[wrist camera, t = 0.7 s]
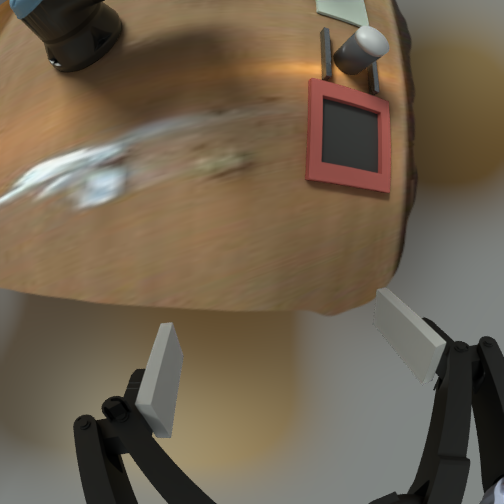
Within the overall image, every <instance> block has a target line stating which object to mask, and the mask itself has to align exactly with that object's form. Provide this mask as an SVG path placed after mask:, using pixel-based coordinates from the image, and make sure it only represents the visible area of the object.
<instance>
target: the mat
mask: <svg viewBox="0 0 504 504" xmlns="http://www.w3.org/2000/svg"><path fill="white" fill-rule="evenodd" d="M316 10H317V13H319V14H322V15H326V16H329V17H332V18H335V19H338V20H341V21H344V22H347V23H350V24H353V25H355V26H358V27H362V26H369V23H368V18H367V13H366V8H365V4H364V0H316Z"/></svg>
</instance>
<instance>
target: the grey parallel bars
mask: <svg viewBox="0 0 504 504" xmlns="http://www.w3.org/2000/svg"><path fill="white" fill-rule="evenodd" d="M320 38H321V64H322V80H325V81H328V80H329V79H330V78H331V77H332V72H331V51H330V36H329V29H328V28H325V27H324V28H323V29H322V31H321V32H320ZM367 70H368V81H369V94H371V95H375V94H377V93H379V83H378V73H377V65H376V61H375V62H373V63H372V64H371V65H369V66H368V67H367Z"/></svg>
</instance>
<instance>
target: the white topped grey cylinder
mask: <svg viewBox="0 0 504 504" xmlns="http://www.w3.org/2000/svg"><path fill="white" fill-rule="evenodd" d="M388 51H389V44H388V41H387V40H386V38H385V37H384V36H383V35H382V34H381V33H380V32H379V31H378V30H376V29H375V28H373V27H370V26H362V27H360V28H359V29H358V30H357V31H356V32H355V33H354V34H353V35H352V36H351V37H350V38H349V39H348V40H347V41H346V42H345V43H344V44H343V45H342V46H341V47H340V48H339V49H338V50H337V51H336V52H335V53H334V56H333V59H334V62H335V64H336V66H337V67H338V68H339V69H340V70H341V71H342V72H344V73H346V74H348V75H357V74H358V73H360V72H361V71H362V70H364V69H365V68H366V67H368V66H369V65H371V64H372V63H373V62H375V61H376V60H377V59H379V58H380V57H382V56H383V55H384V54H386V53H387V52H388Z"/></svg>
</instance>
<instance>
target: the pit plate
mask: <svg viewBox="0 0 504 504" xmlns="http://www.w3.org/2000/svg"><path fill="white" fill-rule="evenodd" d="M390 174H391V138H390V114H389V101H386V100H383V99H381V98H378V97H375V96H372V95H370V94H367V93H364V92H361V91H358V90H355V89H351V88H348V87H345V86H341V85H338V84H334V83H331V82H327V81H323V80H319V79H315V78H311V79H310V80H309V86H308V131H307V155H306V174H305V180H311V181H318V182H325V183H332V184H338V185H344V186H350V187H356V188H362V189H367V190H373V191H378V192H383V193H390Z"/></svg>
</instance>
